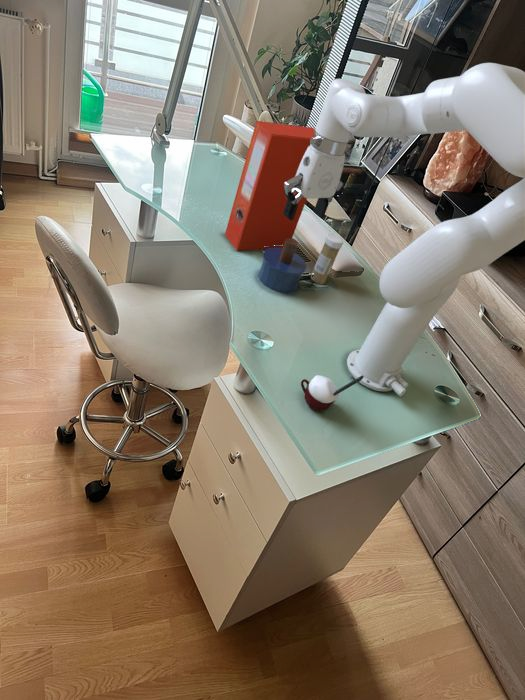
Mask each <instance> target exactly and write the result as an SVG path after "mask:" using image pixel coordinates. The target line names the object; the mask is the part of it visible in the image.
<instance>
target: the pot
mask: <svg viewBox="0 0 525 700" xmlns="http://www.w3.org/2000/svg"><path fill="white" fill-rule="evenodd" d="M262 260H263V261H262V264H261V267H260V269H259V272H258V279H259V282H261V284H262V285H263V286H264V287H265V288H268V289H269V290H271V291H274V292H276V293H280V294H281V293H282V294H289V293H294V291H296V290H297V288H298V285H299V283H300V281H301V279H302V276H303V273H304V272H303V273H302V274H299V275H288V274H284V273H281V272H278V271H276V270H274V269H272V268H271V267H270V266H268V265H267V264H266V263H265V261H264V259H262Z"/></svg>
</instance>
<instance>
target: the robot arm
mask: <svg viewBox="0 0 525 700" xmlns="http://www.w3.org/2000/svg"><path fill="white" fill-rule="evenodd" d="M314 129H315V132H314V135H313V138H311V139H310V143H311V144H310V146H309V147H308V148H307V150H306V152H305V154H304V156H303V158H302V160H301V163H300V165H299V168H298V170H297V173H296V176H295V177H293V178H292V179H290V180H288V181H286V182H285V183H284V189H285V192H284V193H285V195H286V198H287V199H288V200H287V203H286V206H285V209H284V212H283V214H284V216H286V217H287V218H288V219H289V220H293V219H294V216H295V214H296V211H297V208H298V204H296V203H297V202H298V201H299V200H300V199H301V198H302V197H305V198H307V199H317V200H316V203H315V206H314V209H313V213H314V214H315V215H316V216H317V217H319V218H320V219H324V217H325V215H326V212H327V210H328V207H329V205H330V203H332V202H333V198H335V197H336V196H337V195H338V193H339V191H340V189H341V188H342V187H343V185H344V183H343V182H342V180H341V177H342V174H343V170H344V167H345V166H344V165H345V160H346V154H345V152H346V149H347V147H348V145H349V141H350V139H351V136H352V135H353V136H354V137H357V138H387V139H388V138H399V137H400V138H401V137H410V136H419V135H427V134H430V135H435V134H442V133H443V134H444V133H453V132H460V131H467V132H468V133H469V135H471V137H472V138H473V139H474V140H475V141H476V142H477V143H478V144H479V145H480V146H481V148H482V149H484V151H486V153H487V154H488V155H490V157H491V158H492V159H493V160H494V161H495V162H496V163H497V164H498V165H499V166H500V167H501V168H502V169H504V170H505V171H506V172H508V173H509V174H511V175H513V176H515V177H520V178H522V179H521V180H519V181H518V182H516V183H515V184H513V185H511V186H510V187H508V188H506V189H505V190H503V192H501V193H500V194H499V195H497V196H496V197H495V198H494V199H492V201H490V202H488V203H487V204H486V205H484V206H483V207H482V208H480V209H479V210H477V211H475V212H473V213H472V214H470V215H467V216H463V217H456V218H452V219H447V220H444V221H442V222H439V223H438V224H436V225H434V226H432V227H431V228H428V229H427V230H426V231H425V232H424V233H422V234H420V236H418V237H417V238H416V239H415V240H414V241H412V242H411V243H410V244H408V245H407V246H406V247H405V248H403V249H402V250H401V251H400V252H399V253H397V254H396V255H395V256H393V257H392V258H391V259H390V260H389V261H388V262H387V263H386V265H384V267H383V268H382V271H381V273H380V276H379V280H378V282H379V283H378V286H379V287H378V288H379V291H380V295H381V296H382V298H383V299H384V300H385V302H386V303H385V304H384V306H383V308H382V309H381V311H380V313H379V315H378V317H377V319H376V321H374V324H373V326H372V328H371V329H370V331H369V333H368V334H367V336H366V338H365V340H364V342H363V343H362V345H361V347H360V348H359V349H354V350H352V351H351V352H350V353H349V354H348V356H347V359H346V366H347V368H348V370H349V372H350V374H351V375H352V378H354V380H355V379H357V378H359V377H360V376H364V378H363V379H362V380H361V381H359V382H358V383H359V384H361V386H364V387H366V388H368V389H370V390H373V391H375V392H391V391H394V392H395V394H397V395H398V396H399V397H402V396H403V395H404V394H405V393H406V392H407V390H406V388H407V387H408V386H409V383H408V382H407V381H406V380H405V379H403V377H402V374H403V372H404V371H405V370H404V368H403V367H402V366H403V364H404V362H405V361H406V360H407V358H408V356H409V355H410V354H411V352H412V350H413V349H414V347H415V346H416V344H417V343H418V341H419V340H420V338H421V337H422V335H423V333H424V332H425V330H426V329H427V328H428V326H429V325H430V323H431V321H432V320H433V319H434V317H435V316H436V315H437V314H438V312H439V311H440V309H441V308H443V306H444V305H445V304H446V302H447V301H448V300H449V299H450V298H451V296H452V295H453V294H454V292H455V291H456V289H457V287H458V286H459V283H460V279H461V277H462V276H464V275H467V274H471V273H473V272H476V271H480V270H482V269H485V268H487V267H488V266H490V265H491V264H492V263H493V262H495V261H496V260H497V259H499V258H500V257H502V256H503V255H505V254H506V253H508V252H509V251H510V250H513V248H515V247H517V246H518V245H520V244H521V243H522V242H524V241H525V71H523V70H522V69H520V68H517V67H514V66H509V65H504V64H500V63H496V62H483V63H479V64H476V65H474V66H472V67H470V68H469V69H467V70H466V71H464V72H463V73H462V74H461V75H459V76H452V77H447V78H440V79H436V80H433V81H432V82H430V83H429V84H428V86H427V87H426V89H425V90H424V92H419V93H414V94H408V95H402V96H388V95H381V94H370V93H366V90H365V88H364V87H363V86H362V85H360V84H358V83H356V82H355V81H352V80H348V79H344V78H335V79H333V80H332V81H331V82H330V84H329V87H328V89H327V93H326V96H325V99H324V101H323V104H322V108H321V111H320V114H319V117H318V120H317V123H316V126H315V128H314ZM292 188H293V189H292ZM296 193H298V195H297V196H296V197H295V196H294V195H295V194H296Z"/></svg>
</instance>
